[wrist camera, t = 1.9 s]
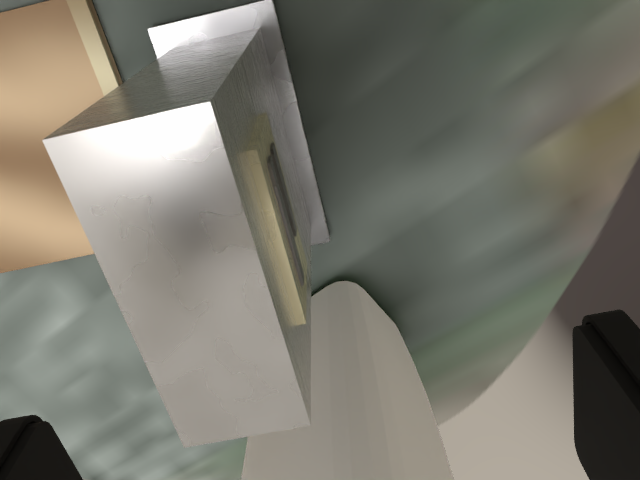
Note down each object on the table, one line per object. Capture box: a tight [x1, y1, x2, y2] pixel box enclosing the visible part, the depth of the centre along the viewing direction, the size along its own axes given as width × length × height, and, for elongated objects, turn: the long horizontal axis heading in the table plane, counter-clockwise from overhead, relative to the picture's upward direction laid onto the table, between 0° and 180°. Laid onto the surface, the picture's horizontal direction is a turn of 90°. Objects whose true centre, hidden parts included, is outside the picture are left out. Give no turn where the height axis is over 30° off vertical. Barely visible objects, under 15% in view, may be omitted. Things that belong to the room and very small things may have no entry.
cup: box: [241, 281, 454, 480], centre depth 26 cm, size 7×7×15 cm
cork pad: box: [0, 0, 123, 273], centre depth 27 cm, size 12×11×1 cm
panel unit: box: [42, 0, 330, 448], centre depth 21 cm, size 12×6×14 cm, turn 13°
